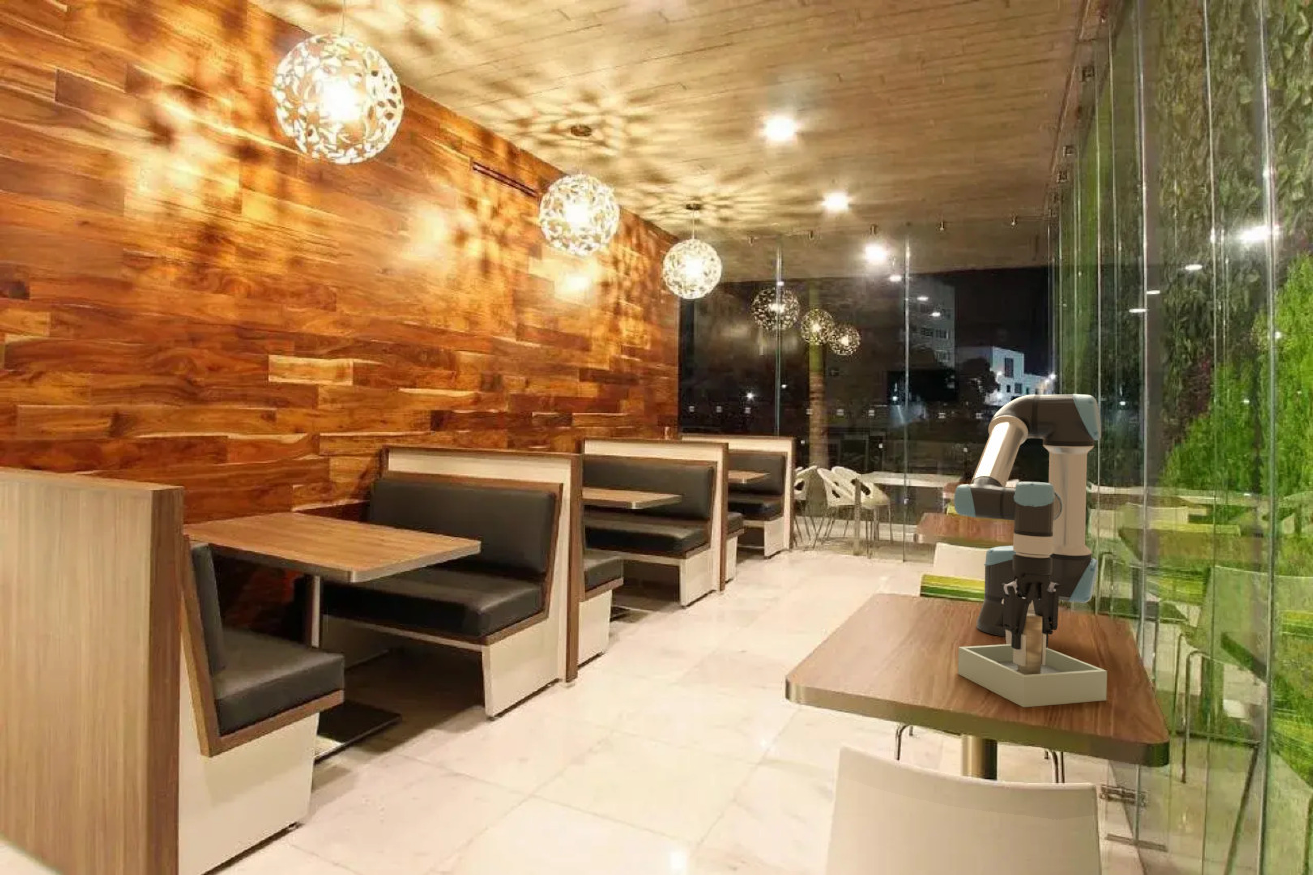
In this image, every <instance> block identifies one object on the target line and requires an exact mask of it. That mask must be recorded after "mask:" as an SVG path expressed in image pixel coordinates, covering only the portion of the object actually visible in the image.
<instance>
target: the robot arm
mask: <svg viewBox="0 0 1313 875" xmlns="http://www.w3.org/2000/svg"><path fill="white" fill-rule="evenodd" d="M1100 415H1101V414H1100V408H1099V405H1098V401H1097V400H1096V398H1095V397H1094V396H1093V395H1090V394H1081V393H1080V394H1079V393H1072V394H1065V393H1063V394H1026V395H1023V396H1019V397H1017V398H1015V399H1013V400H1011V401H1010V402H1009V401H1008V403H1006V404H1005V405H1004V406H1002V407H1001V408H1000V409H999V410H998V411H996V413H995V414H994V415H993V417H992V418H991V420H990V422H989V425H988V434H989V436H988V438H987V439H988V440H987V441H986V444H985V446H984V449H983V451H982V453H981V456H980V458H979V461H978V464H977V466H976V469H975V472H974V474H973V477H972V479H971V482H970V484H969V483H966V484H959V485H957V486H956V488H955V489H954V490H955V491H954V496H953V497H954V498H953V504H954V510H955V512H956V514H957V515H959V516H962V517H963V516H964V517H971V518H978V519H979V518H981V519H991V520H1005V521H1013V540H1012V543H1013V544H1012V545H1003V546H1001V545H1000V546H995V547H991V548H989V549H987V551H986V553H985V561H984V562H985V563H984V598H983V603H982V606H981V608H980V611H979V615H978V616H977V618H976V629H978V630H979V631H981V632H984V633H985V634H986V633H987V634H991V635H993V636H994V635H995V636H998V637H999V636H1000V637H1003V638H1004V637H1005V638H1006V630H1008V631H1010V632H1011V633H1012V640H1011V642H1012V643H1011V646H1012V648H1014V650H1013V662H1014V663H1016V664H1018V665H1021V666H1025V660H1026V635H1024V634H1023V630H1024V626H1025V621H1026V616H1027V612H1028V607H1029V604H1031V602H1032V601H1033V605H1034V611H1035V614H1036V615H1040V616H1042V648H1041V665H1045V661H1046V648H1049V635H1050V636H1051V635H1053V633H1054V631H1056V630H1058V622H1059V602H1060V601H1062V602H1063V601H1064V602H1068V603H1072V602H1073V603H1082V604H1084V603H1085V604H1086V603H1088V602H1089V601H1090V600H1091V599H1092V597H1093V592H1094V589H1095V585H1096V581H1097V580H1096V579H1097V575H1098V570H1099V567H1098V566H1099V561H1098V559H1097V558H1096V559H1095V558H1092V557H1093V556H1092V550H1091V549H1090V548H1089V547H1088V546H1087V545H1086V518H1087V517H1086V513H1087V512H1086V511H1087V510H1086V508H1087V467H1088V465H1087V464H1088V453H1089V452H1090V451H1091V450H1093V448H1094V447H1095V441H1099V440H1100V439H1102V423H1101V416H1100ZM1027 439H1041V440H1042V447H1043V448H1045V449H1046V450H1047V451H1048V453H1049V454H1048V455H1049V457H1048V461H1049V463H1048V465H1049V466H1048V482H1043V481H1042V482H1040V481H1019V482H1016V484H1015V486H1014V487H1007V482H1008V481H1009V477H1010V475H1011V472H1012V470H1013V467H1014V465H1015V464H1014V463H1015V460H1016V458H1017V454H1018V452H1019V448H1020V446H1021V445H1022V444H1024V443H1025V441H1026V440H1027ZM1022 597H1023V598H1022ZM1002 600H1003V604H1002Z"/></svg>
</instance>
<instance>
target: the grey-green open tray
mask: <svg viewBox="0 0 1313 875" xmlns="http://www.w3.org/2000/svg"><path fill="white" fill-rule="evenodd" d="M1013 650H1014V648H1012V646H1011V644H1005V643H1002V644H990V645H989V644H988V645H973V646H972V645H971V646H959V647H958V656H957V657H958V658H957V660H958V661H957V662H958V663H957V675H958V676H959V675H960V676H961V677H964V678H965V679H968V680H969V681H971V682H973V683H974V684H977V685H979V686H981V687H982V688H985V689H986V690H989V691H991V692H993V693H994V694H997V695H999V696H1000V697H1002V698H1004V699H1006V700H1008V701H1009V702H1010V701H1011V702H1012V703H1014V704H1016V705H1018V706H1020V707H1022V708H1029V707H1030V708H1032V707H1042V706H1053V705H1056V706H1057V705H1066V704H1079V703H1089V702H1100V701H1107V688H1108V687H1107V684H1108V670H1105V669H1103V668H1100V667H1098V666H1096V665H1093V664H1091V663H1087V662H1085V661H1082V660H1080V659H1077V658H1074V657H1073V656H1069V655H1067V654H1064V653H1062V652H1059V651H1056V650H1054V649H1051V648H1049V647H1047V648H1046V661H1045V665H1041V674H1031V675H1024V674H1022V673H1019V672H1018V664H1016V663H1014V662H1013Z"/></svg>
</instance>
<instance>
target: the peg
mask: <svg viewBox="0 0 1313 875" xmlns="http://www.w3.org/2000/svg"><path fill="white" fill-rule="evenodd" d="M1023 634H1024V635H1026V660H1025V666H1021V665H1018V672H1019V673H1022V674H1024V675H1031V674H1041V648H1042V616H1040V615H1036V614H1030V613H1027V616H1026V621H1025V626H1024V630H1023Z"/></svg>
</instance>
